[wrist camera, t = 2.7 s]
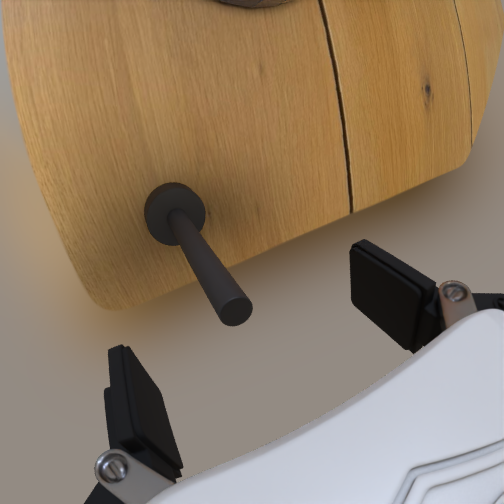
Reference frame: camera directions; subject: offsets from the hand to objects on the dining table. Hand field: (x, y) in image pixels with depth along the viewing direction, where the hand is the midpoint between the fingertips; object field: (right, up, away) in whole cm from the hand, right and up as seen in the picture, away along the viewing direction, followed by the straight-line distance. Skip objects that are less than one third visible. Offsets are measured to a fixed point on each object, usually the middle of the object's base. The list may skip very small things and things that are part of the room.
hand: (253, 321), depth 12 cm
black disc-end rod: (-6, +6, +12) cm, 15 cm away
